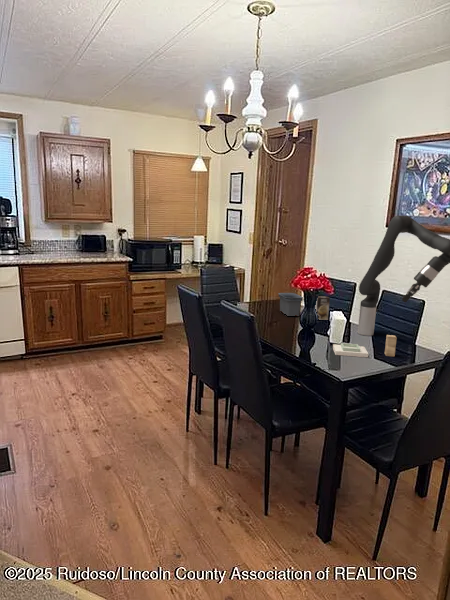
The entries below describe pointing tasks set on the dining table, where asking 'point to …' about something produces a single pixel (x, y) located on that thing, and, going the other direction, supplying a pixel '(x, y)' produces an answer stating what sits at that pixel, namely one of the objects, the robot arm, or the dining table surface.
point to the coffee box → (322, 307)
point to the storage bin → (290, 303)
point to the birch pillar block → (390, 345)
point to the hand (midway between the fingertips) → (403, 300)
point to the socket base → (350, 350)
